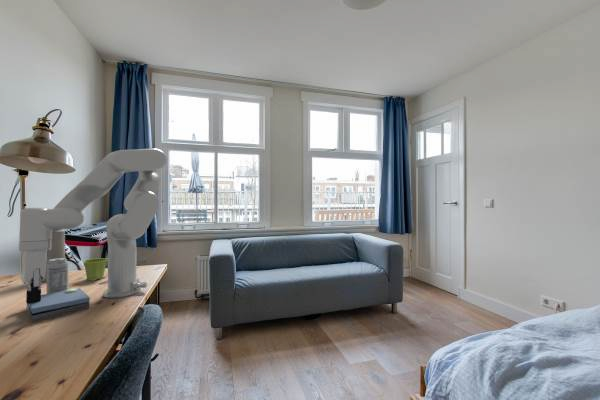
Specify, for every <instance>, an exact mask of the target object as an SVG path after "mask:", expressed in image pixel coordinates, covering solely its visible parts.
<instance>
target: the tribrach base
mask: <svg viewBox="0 0 600 400" xmlns="http://www.w3.org/2000/svg"><path fill="white" fill-rule="evenodd" d="M87 309H90V302H85V303H81V304H76V305H71V306H66V307H61V308H57V309H52V310H47V311H42V312H37V313H33V314H32V312H31V310H30V308H29V305H28V304H27V303H26V311H27V314H28V316H29V318H30V322H31V323H36V322H40V321H43V320H48V319H53V318H55V317H59V316H63V315H67V314H71V313H74V312H79V311H84V310H87Z"/></svg>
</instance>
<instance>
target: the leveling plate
mask: <svg viewBox="0 0 600 400" xmlns="http://www.w3.org/2000/svg"><path fill="white" fill-rule="evenodd" d="M90 301H91V299H90V296H89V295H88V294H87V293H86V292H84V291H83V290H82V288H68V290H65V291H61V292H55V293H49V294H47V293H44V294H41V301H40V302H35V303H30V304H28V305H29V308H30V310H31V312H32V314H33V313H37V312H42V311H47V310H52V309H57V308H61V307H66V306H71V305H76V304H81V303H85V302H89V303H90Z"/></svg>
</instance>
